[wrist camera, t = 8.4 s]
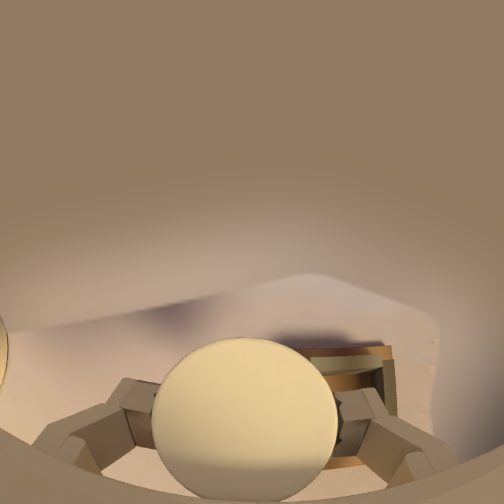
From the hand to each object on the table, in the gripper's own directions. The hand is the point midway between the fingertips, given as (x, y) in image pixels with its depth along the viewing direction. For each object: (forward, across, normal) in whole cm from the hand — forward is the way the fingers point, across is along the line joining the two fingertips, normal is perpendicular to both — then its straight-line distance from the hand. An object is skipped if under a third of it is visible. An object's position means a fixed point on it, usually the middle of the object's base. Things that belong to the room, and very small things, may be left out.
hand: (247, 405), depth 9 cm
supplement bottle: (+4, 0, +5) cm, 6 cm away
